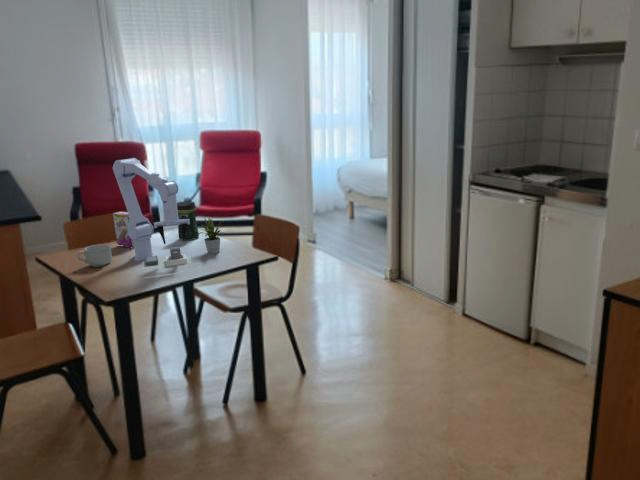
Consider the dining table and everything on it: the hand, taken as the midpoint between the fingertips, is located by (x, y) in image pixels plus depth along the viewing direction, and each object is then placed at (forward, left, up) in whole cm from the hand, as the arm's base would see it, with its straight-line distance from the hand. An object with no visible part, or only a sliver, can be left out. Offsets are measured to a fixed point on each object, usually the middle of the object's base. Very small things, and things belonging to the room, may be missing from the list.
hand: (174, 242), depth 251 cm
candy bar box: (-43, -20, -9) cm, 48 cm away
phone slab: (-4, -10, -9) cm, 14 cm away
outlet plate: (-1, -4, -9) cm, 10 cm away
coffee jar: (-45, +9, -9) cm, 47 cm away
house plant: (-12, +16, -9) cm, 22 cm away
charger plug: (0, 0, -8) cm, 8 cm away
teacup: (-13, -33, -9) cm, 37 cm away
